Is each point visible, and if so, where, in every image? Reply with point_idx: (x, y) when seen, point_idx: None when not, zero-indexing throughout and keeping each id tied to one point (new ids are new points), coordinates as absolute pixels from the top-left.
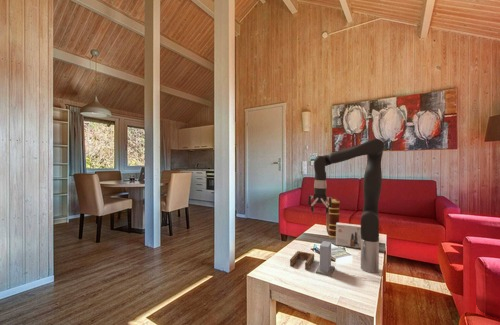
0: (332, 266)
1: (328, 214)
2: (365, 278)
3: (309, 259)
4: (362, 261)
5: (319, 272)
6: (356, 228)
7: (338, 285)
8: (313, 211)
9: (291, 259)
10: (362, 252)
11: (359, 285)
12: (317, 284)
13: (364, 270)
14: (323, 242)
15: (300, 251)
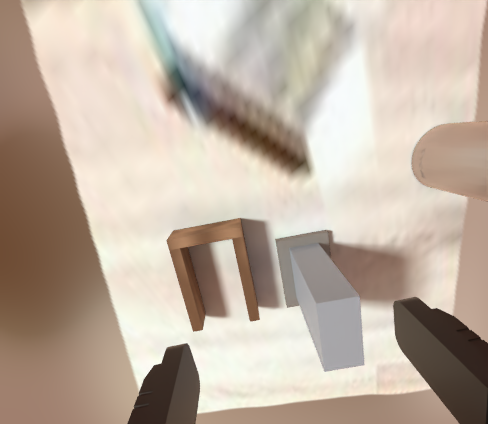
0: (323, 240)
1: None
2: (430, 239)
3: (250, 288)
4: (443, 186)
5: (298, 304)
6: None
7: (364, 326)
8: (194, 372)
9: (198, 329)
10: (478, 195)
11: (415, 292)
12: (314, 355)
13: (427, 186)
14: (324, 323)
15: (180, 240)
